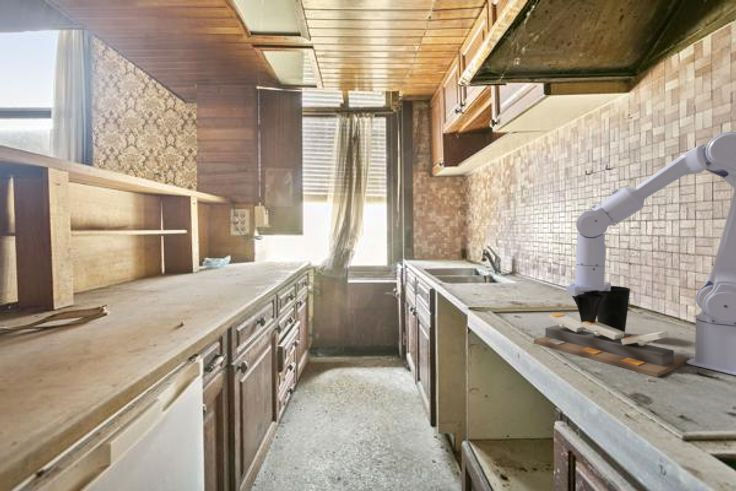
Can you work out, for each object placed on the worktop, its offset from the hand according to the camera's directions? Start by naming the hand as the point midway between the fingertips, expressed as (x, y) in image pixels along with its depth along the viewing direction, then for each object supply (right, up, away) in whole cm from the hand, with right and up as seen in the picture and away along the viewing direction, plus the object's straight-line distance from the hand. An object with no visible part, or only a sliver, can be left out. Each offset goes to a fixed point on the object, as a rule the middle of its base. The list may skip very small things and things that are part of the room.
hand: (587, 324), depth 85 cm
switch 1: (-3, -1, +4) cm, 5 cm away
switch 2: (+2, -2, -2) cm, 3 cm away
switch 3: (+6, -2, -10) cm, 12 cm away
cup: (+12, -5, +11) cm, 17 cm away
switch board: (+2, -5, -3) cm, 7 cm away
